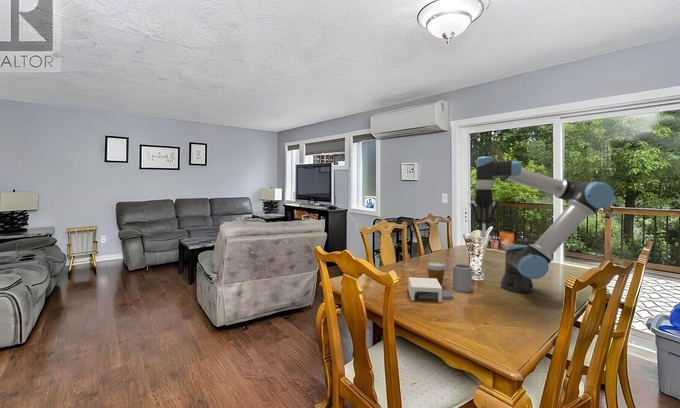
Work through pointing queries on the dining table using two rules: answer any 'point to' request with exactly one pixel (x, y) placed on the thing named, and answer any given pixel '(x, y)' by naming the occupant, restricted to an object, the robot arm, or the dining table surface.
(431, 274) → the disposable coffee cup
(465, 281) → the cup
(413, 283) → the shelf
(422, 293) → the tile
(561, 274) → the dining table surface
